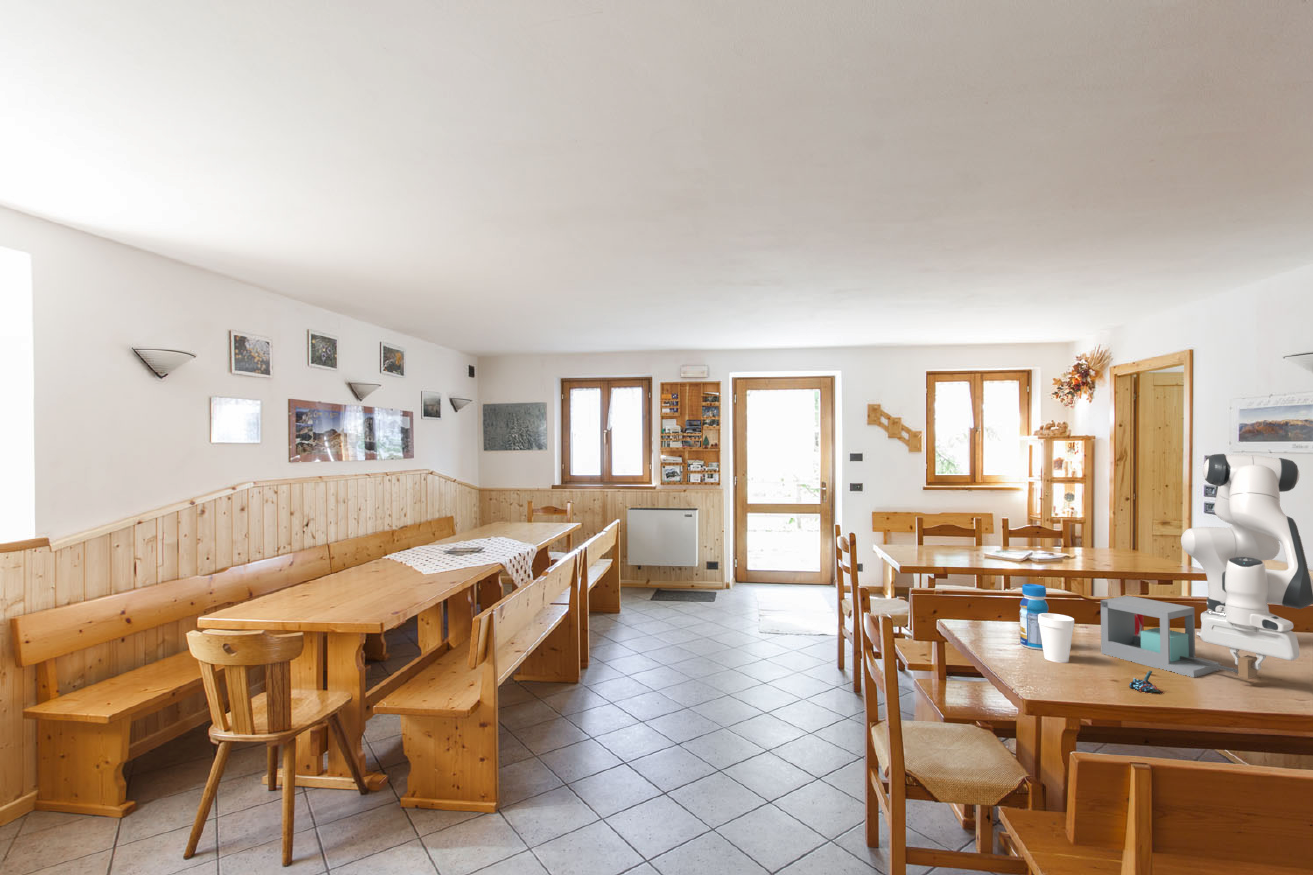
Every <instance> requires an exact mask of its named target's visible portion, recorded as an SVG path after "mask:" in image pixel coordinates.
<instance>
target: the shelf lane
mask: <svg viewBox="0 0 1313 875" xmlns="http://www.w3.org/2000/svg"><path fill="white" fill-rule="evenodd" d="M1135 613H1136V614H1141V615H1143V616H1147V617H1152V618H1158V619H1159V628H1160V653H1158V652H1154V651H1150V650H1146V649H1142V648H1141V636H1136V635H1135ZM1181 617H1184V631H1185V632H1184V633H1186V634H1188V643H1189V657H1188V658H1192V659H1196V660H1200V661H1204V662H1208V663H1213V664H1217V665H1221V662H1218V661H1215V660H1210V659H1206V658H1203V657H1202V658H1201V657H1197V656H1196V635H1195V634H1196V633H1195V632H1196V630H1195V627H1196V626H1195V620H1196V618H1195V607H1194V606H1190V605H1189V606H1188V605H1183V604H1176V603H1171V602H1165V601H1160V600H1154V599H1149V598H1143V597H1136V596H1132V595H1123V596H1118V597H1113V598H1111V597H1110V598H1106V599H1100V637H1101V638H1100V640H1101V641H1100V645H1101V646H1100V647H1101V648H1100V650H1101V651H1100V653H1102V654H1101V655H1104V654H1106V655H1105V656H1108V655H1110V656H1109V657H1112V656H1113V657H1112V658H1115V657H1117V658H1116V659H1119V658H1120V659H1121V660H1123V659H1124V660H1123V661H1128V662H1131V661H1132V663H1134V664H1135V663H1136V664H1139V665H1143V666H1148V667H1151V668H1154V669H1158V668H1160V669H1159V670H1162V669H1164V670H1163V671H1166V670H1167V671H1166V672H1169V671H1172V672H1171V673H1173V672H1175V673H1174V674H1177V673H1178V674H1177V675H1181V676H1185V675H1187V676H1186V677H1189V676H1190V677H1189V678H1193V677H1195V678H1198V677H1201V676H1204V675H1208V674H1210V673H1211V674H1212V673H1214V672H1218V671H1220V670H1221V669H1219V668H1215V667H1211V666H1206V665H1202V664H1198V663H1194V662H1190V661H1186V660H1182V659H1181V660H1177V661H1174V662H1170V630H1171V629H1170V626H1171V625H1170V620H1172V619H1177V618H1181ZM1197 676H1198V677H1197Z"/></svg>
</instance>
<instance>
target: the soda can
mask: <svg viewBox="0 0 1313 875" xmlns="http://www.w3.org/2000/svg"><path fill="white" fill-rule="evenodd" d="M1144 628H1145V627H1144V615H1141V614H1136V613H1135V635H1136V636H1141V631H1144Z"/></svg>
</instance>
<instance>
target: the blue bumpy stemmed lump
mask: <svg viewBox="0 0 1313 875" xmlns="http://www.w3.org/2000/svg"><path fill="white" fill-rule="evenodd" d="M1152 673H1153V670H1149V671H1147V672H1146V675H1145V676H1144V678H1143V680H1142V679H1137V678H1135V677H1132V678H1133V679H1132V682H1130V683H1129V686H1128V687H1129V689H1130V690H1133V689H1135V690H1134V691H1136V690H1137V692H1139V693H1141V692H1145V693H1144V694H1148V693H1152V694H1154V693H1158V694H1159V693H1161V694H1162V693H1163V691H1162V690H1161V689H1160V688H1158V687H1157V686H1156V684H1153V683H1151V681H1149V678H1150V677H1151V675H1152ZM1153 692H1154V693H1153ZM1163 694H1164V693H1163Z"/></svg>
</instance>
